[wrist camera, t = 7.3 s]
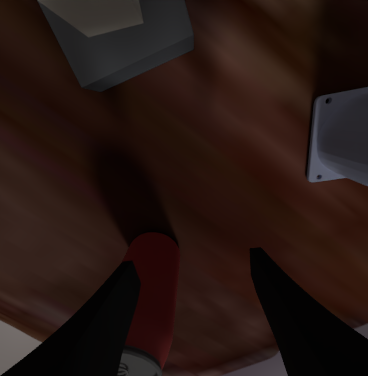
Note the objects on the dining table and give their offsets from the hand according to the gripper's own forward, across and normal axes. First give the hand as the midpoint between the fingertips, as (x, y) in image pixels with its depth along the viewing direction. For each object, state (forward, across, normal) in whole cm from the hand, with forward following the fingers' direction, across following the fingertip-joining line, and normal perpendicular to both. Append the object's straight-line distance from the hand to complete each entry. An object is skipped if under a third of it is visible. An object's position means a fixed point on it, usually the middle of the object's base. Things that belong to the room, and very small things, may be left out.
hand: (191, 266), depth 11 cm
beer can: (+10, +6, +7) cm, 14 cm away
